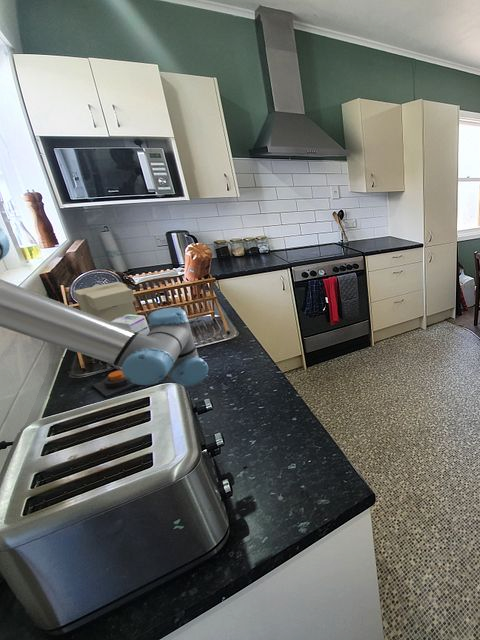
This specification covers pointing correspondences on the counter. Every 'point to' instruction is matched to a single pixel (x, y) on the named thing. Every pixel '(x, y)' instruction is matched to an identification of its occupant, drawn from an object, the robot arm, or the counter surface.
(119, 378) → the button
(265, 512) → the counter surface
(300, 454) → the counter surface
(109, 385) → the control block
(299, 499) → the counter surface
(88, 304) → the coffee machine
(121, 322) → the syrup box
